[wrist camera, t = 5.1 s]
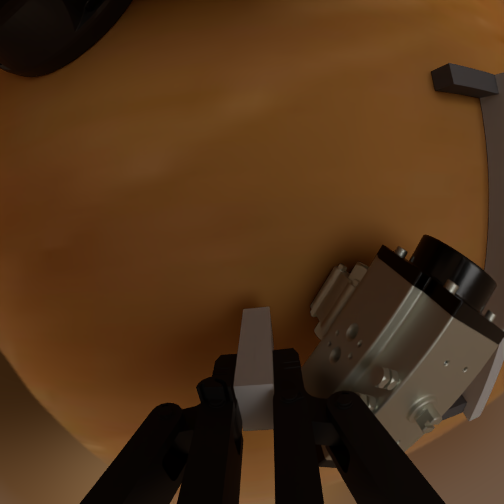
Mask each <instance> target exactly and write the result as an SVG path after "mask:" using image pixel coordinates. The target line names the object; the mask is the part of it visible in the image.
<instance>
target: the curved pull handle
mask: <svg viewBox="0 0 504 504" xmlns="http://www.w3.org/2000/svg"><path fill="white" fill-rule="evenodd" d="M431 73H432V78H433V83H434V87H435V91H442V92H449V93H455V94H461V95H466V96H472V97H477V98H480V102H481V108H482V114H483V121H484V128H485V136H486V146H487V157H488V174H489V223H488V240H487V252H486V262H485V270H484V271H485V272H486V273H487V274H489V275H490V276H491V277H492V278H493V279H494V280H495V282H496V283H497V287H496V289H495V291H494V292H493V294H492V296H491V298H490V299H489V301H488V303H487V305H486V306H485V308H484V310H483V311H482V314H483V315H485V314H486V312H487V310H490V311H492V312H493V313H494V314H495V315H496V318H495V319H494V321H493V323H494V324H496V325H497V326H498V327H499V328H500V329H502V330H503V331H504V73H500V74H496V75H493V74H490V73H487V72H483V71H480V70H476V69H472V68H468V67H464V66H460V65H456V64H451V63H448V64H446V65H444V66H442V67H440V68H437V69H435V70H433V71H431ZM489 320H490V319H489ZM503 360H504V338H503V339H502V341H501V342H500V344H498V347H497V348H496V350H495V351H494V353H493V354H492V356H491V357H490V358H489V360H488V361H487V363H486V364H485V365H484V367H483V368H482V369H481V371H480V372H479V373H478V375H477V376H476V377H475V378H474V380H473V381H472V382H471V384H470V385H469V386H468V387H467V388H466V390H465V391H464V392H463V393H462V394H461V396H460V397H459V398H458V399H457V400H456V401H455V402H454V404H453V405H452V406H451V407H450V408H449V409H448V410H447V411H446V412H445V413H444V414H443V416H442V420H444V419H447V418H450V417H452V416H455V415H457V414H459V413H462V412H463V413H464V414H465V416H466V418H467V419H468V421H471V420H473V419H475V418H477V417H479V416H480V414H481V412H482V411H483V409H484V406H485V404H486V402H487V400H488V398H489V395H490V393H491V391H492V388H493V386H494V384H495V381H496V379H497V376H498V374H499V371H500V368H501V366H502V363H503Z"/></svg>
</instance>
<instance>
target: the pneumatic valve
mask: <svg viewBox="0 0 504 504" xmlns="http://www.w3.org/2000/svg"><path fill="white" fill-rule="evenodd" d="M406 255H407V251H406V250H404V249H402V248H401V247H399V246H398V247H397V249H396V250H395V252H394V251H392V250H391V249H389V248H388V247H386V246H384V245H382V246H381V248H380V250H379V252H378V253H377V255H376V257H375V258H374V260H373V262H372V263H371V265H370V267H369V266H367V265H365V264H363V263H361V262H359V261H358V262H357V263H356V265H355V266H354V268H353V270H352V271H351V273H348V272H347V271H346V270H347V267H346V266H345V265H343V264H341V263H340V265H339V266H334V268H333V270H332V271H331V273H330V275H329V276H328V278H327V280H326V281H325V283H324V285H323V286H322V288H321V289H320V291H319V293H318V294H317V296H316V297H315V299H314V301H313V302H312V304H311V305H310V307H311V309H312V310H311V311H310V313H311V316H312V317H317V318H318V319H319V321H320V322H319V323H318V324H317V326H316V328H315V329H314V332H315V334H316V335H317V337H318V338H319V339H320V340H321V342H320V343H319V344H318V346H317V347H316V349H315V350H314V351H313V353H312V354H311V355H310V357H309V358H308V359H307V361H306V362H305V363H304V365H303V366H302V367H301V371H302V377H303V383H304V388H305V390H306V392H307V393H308V394H310V395H311V396H314V397H317V398H325V399H328V398H329V397H330V395H331V394H333V393H335V392H338V391H343V390H344V391H352V392H354V393H356V394H357V395H359V396H360V397H361V399H362V400H363V401H364V402H365V404H366V405H367V406H368V407H369V409H370V410H371V411H372V412H373V414H374V415H375V416H376V418H377V419H378V420H379V421H380V423H381V424H382V425H383V426H384V428H385V429H386V430H387V431H388V433H389V434H390V435H391V436H392V438H393V439H394V440H395V441H396V443H397V444H398V445H399V446H400V448H401V449H402V450H403V451H404V452H405V451H406V450H407V449H408V448H410V447H411V446H412V445H413V444H414V443H415V442H416V441H417V440H418V439H419V438H420V437H422V436H423V435H424V434H425V433H429V432H431V431H432V430H433V429H434V428H435V427H434V426H433V425H434V424H439V423H440V422H441V421H442V416H443V414H444V413H445V412H446V411H447V410H448V409H449V408H450V407H451V406H452V405H453V404H454V402H455V401H456V400H457V399H458V398H459V397H460V396H461V394H462V393H463V392H464V391H465V390H466V388H467V387H468V386H469V385H470V384H471V382H472V381H473V380H474V378H475V377H476V376H477V375H478V373H479V372H480V371H481V369H482V368H483V367H484V365H485V364H486V363H487V361H488V360H489V358H490V357H491V356H492V354H493V353H494V351H495V350H496V348H497V347H498V344H500V342H501V341H502V339H503V338H504V331H503V330H502V329H500V328H499V327H498V326H497V325H496V324H494V323H493V321H494V319H495V318H496V315H495V314H494V313H493V312H492V311H490V310H487V312H486V314H485V315H483V314H482V311H483V310H484V308H485V306H486V305H487V303H488V301H489V299H490V298H491V296H492V294H493V292H494V291H495V289H496V287H497V283H496V282H495V280H494V279H493V278H492V277H491V276H490V275H489V274H487V273H486V272H485V271H484V270H483V269H481V268H480V267H479V266H478V265H476V264H475V263H474V262H472V261H471V260H470V259H468V258H467V257H465V256H464V255H462V254H461V253H459V252H458V251H456V250H455V249H453V248H452V247H450V246H448V245H447V244H445V243H443V242H441V241H440V240H438V239H436V238H434V237H432V236H429V235H423V237H422V238H421V240H420V242H419V244H418V246H417V248H416V249H415V251H414V253H413V255H412V256H411V258H410V260H409V261H408V260H407V259H405V256H406ZM489 319H490V320H489ZM315 446H316V453H317V459H318V466H319V467H331V468H337V467H336V466H335V464H334V462H333V460H332V458H331V457H330V455H329V453H328V451H327V449H326V448H325V445H317V444H315Z"/></svg>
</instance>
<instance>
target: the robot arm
mask: <svg viewBox="0 0 504 504" xmlns="http://www.w3.org/2000/svg"><path fill="white" fill-rule="evenodd" d="M131 1H132V0H0V68H1V69H3V70H5V71H7V72H9V73H13V74H17V75H21V76H25V77H36V76H41V75H45V74H48V73H50V72H53V71H55V70H57V69H59V68H61V67H63V66H65V65H66V64H68V63H70V62H71V61H72V60H74V59H75V58H77V57H78V56H80V55H81V54H82V53H83V52H85V51H86V50H87V49H88V48H90V47H91V46H92V45H93V44H94V43H95V42H96V41H98V40H99V39H100V38H101V37H102V36H103V35H104V34H105V33H106V32H107V31H108V30H109V29H110V28H111V26H112V25H113V24H114V23H115V22H116V21H117V20H118V19H119V17H120V16H121V15H122V14H123V12H124V11H125V10H126V8H127V7H128V6H129V4H130V3H131ZM196 388H197V392H198V395H199V398H200V401H201V404H199V405H197V406H194V407H191V408H186V409H181V408H180V407H179V405H177V404H174V403H164V404H161V405H159V406H156V407H155V408H154V409H153V410H152V411H151V413H150V414H149V415H148V417H147V418H146V419H145V421H144V422H143V423H142V424H141V426H140V427H139V428H138V430H137V431H136V432H135V434H134V435H133V436H132V437H131V439H130V440H129V441H128V443H127V444H126V445H125V447H124V448H123V449H122V450H121V452H120V453H119V454H118V456H117V457H116V458H115V459H114V461H113V462H112V463H111V465H110V466H109V467H108V468H107V470H106V471H105V472H104V473H103V475H102V476H101V477H100V479H99V480H98V481H97V482H96V484H95V485H94V486H93V488H92V489H91V490H90V491H89V493H88V494H87V495H86V496H85V498H84V499H83V500H82V501H81V503H80V504H170V502H171V500H172V499H173V497H174V495H175V493H176V492H177V490H178V488H179V486H180V485H181V488H180V492H179V497H178V501H177V504H239V494H240V480H241V465H242V451H243V437H242V426H243V431H252V430H268V429H274V462H275V504H324V501H323V494H322V486H321V479H320V472H319V466H318V459H317V453H316V446H315V444H317V445H325V448H326V449H327V451H328V453H329V455H330V457H331V458H332V460H333V462H334V464H335V466H336V467H337V469H338V471H339V473H340V474H341V476H342V478H343V480H344V482H345V483H346V485H347V487H348V489H349V490H350V492H351V494H352V495H353V497H354V499H355V501H356V503H357V504H445V502H444V501H443V500H442V499H441V497H440V496H439V495H438V494H437V493H436V491H435V490H434V489H433V488H432V486H431V485H430V484H429V483H428V481H427V480H426V479H425V478H424V476H423V475H422V474H421V473H420V471H419V470H418V469H417V468H416V466H415V465H414V464H413V463H412V461H411V460H410V459H409V458H408V456H407V455H406V454H405V453H404V451H403V450H402V449H401V448H400V446H399V445H398V444H397V443H396V441H395V440H394V439H393V438H392V436H391V435H390V434H389V433H388V431H387V430H386V429H385V428H384V426H383V425H382V424H381V423H380V421H379V420H378V419H377V418H376V416H375V415H374V414H373V412H372V411H371V410H370V409H369V407H368V406H367V405H366V404H365V402H364V401H363V400H362V399H361V397H360V396H359V395H357V394H356V393H354V392H352V391H344V390H343V391H338V392H335V393H333V394H331V395H330V397H329V398H328V399H325V398H317V397H314V396H311V395H310V394H308V393H307V392H306V390H305V388H304V383H303V377H302V371H301V365H300V360H299V354H298V353H297V352H296V351H295V350H294V349H293V348H290V349H280V350H274V343H273V334H272V325H271V316H270V307H260V308H250V309H243V315H242V323H241V331H240V338H239V346H238V354H228V355H220V357H219V358H218V359H217V360H216V361H215V365H214V370H213V375H212V377H209V378H206V379H204V380H202V381H201V382H199V383H198V385H197V387H196ZM181 483H182V484H181Z"/></svg>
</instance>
